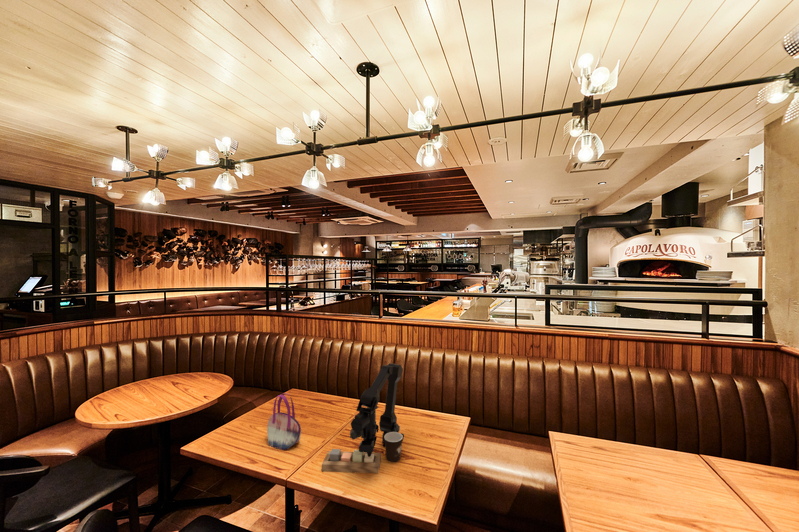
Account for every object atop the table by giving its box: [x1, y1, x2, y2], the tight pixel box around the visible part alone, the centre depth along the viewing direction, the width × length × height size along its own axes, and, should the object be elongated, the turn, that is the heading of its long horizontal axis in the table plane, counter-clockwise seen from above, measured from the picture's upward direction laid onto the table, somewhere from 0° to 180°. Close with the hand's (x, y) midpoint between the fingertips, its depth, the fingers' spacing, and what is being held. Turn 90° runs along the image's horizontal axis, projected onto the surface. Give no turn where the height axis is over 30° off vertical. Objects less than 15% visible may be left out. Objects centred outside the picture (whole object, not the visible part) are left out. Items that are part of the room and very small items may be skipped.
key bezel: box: [321, 450, 382, 474], centre depth 141 cm, size 25×10×3 cm, turn 86°
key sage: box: [352, 449, 363, 462], centre depth 141 cm, size 4×4×4 cm
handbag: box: [266, 392, 302, 451], centre depth 158 cm, size 21×10×25 cm, turn 66°
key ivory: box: [364, 454, 375, 463], centre depth 141 cm, size 4×4×4 cm
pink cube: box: [340, 453, 352, 462], centre depth 141 cm, size 4×4×4 cm
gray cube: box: [330, 448, 342, 462], centre depth 142 cm, size 4×4×4 cm
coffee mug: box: [384, 432, 405, 463], centre depth 147 cm, size 12×9×10 cm
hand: (369, 456), depth 141 cm, fingers closed
